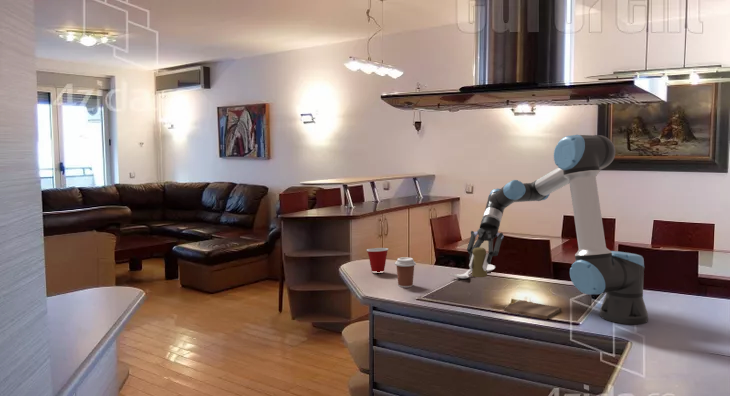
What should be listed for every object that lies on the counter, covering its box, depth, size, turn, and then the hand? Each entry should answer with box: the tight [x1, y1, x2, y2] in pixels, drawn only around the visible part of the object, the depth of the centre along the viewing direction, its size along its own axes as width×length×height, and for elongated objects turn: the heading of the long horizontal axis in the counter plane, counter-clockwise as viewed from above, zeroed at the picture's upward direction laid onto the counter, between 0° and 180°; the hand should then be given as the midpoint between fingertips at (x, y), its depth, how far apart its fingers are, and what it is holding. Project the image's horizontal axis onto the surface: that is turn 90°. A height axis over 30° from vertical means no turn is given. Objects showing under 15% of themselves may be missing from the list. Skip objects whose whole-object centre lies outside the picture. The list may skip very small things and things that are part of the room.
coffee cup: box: [394, 256, 417, 288], centre depth 239 cm, size 9×9×12 cm
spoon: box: [448, 263, 496, 279], centre depth 259 cm, size 9×32×4 cm, turn 139°
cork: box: [471, 246, 488, 278], centre depth 213 cm, size 6×6×11 cm
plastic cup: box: [366, 247, 389, 272], centre depth 265 cm, size 11×11×12 cm
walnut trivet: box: [503, 299, 562, 320], centre depth 200 cm, size 16×13×1 cm
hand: (477, 268), depth 211 cm, fingers closed on cork, 5 cm apart
